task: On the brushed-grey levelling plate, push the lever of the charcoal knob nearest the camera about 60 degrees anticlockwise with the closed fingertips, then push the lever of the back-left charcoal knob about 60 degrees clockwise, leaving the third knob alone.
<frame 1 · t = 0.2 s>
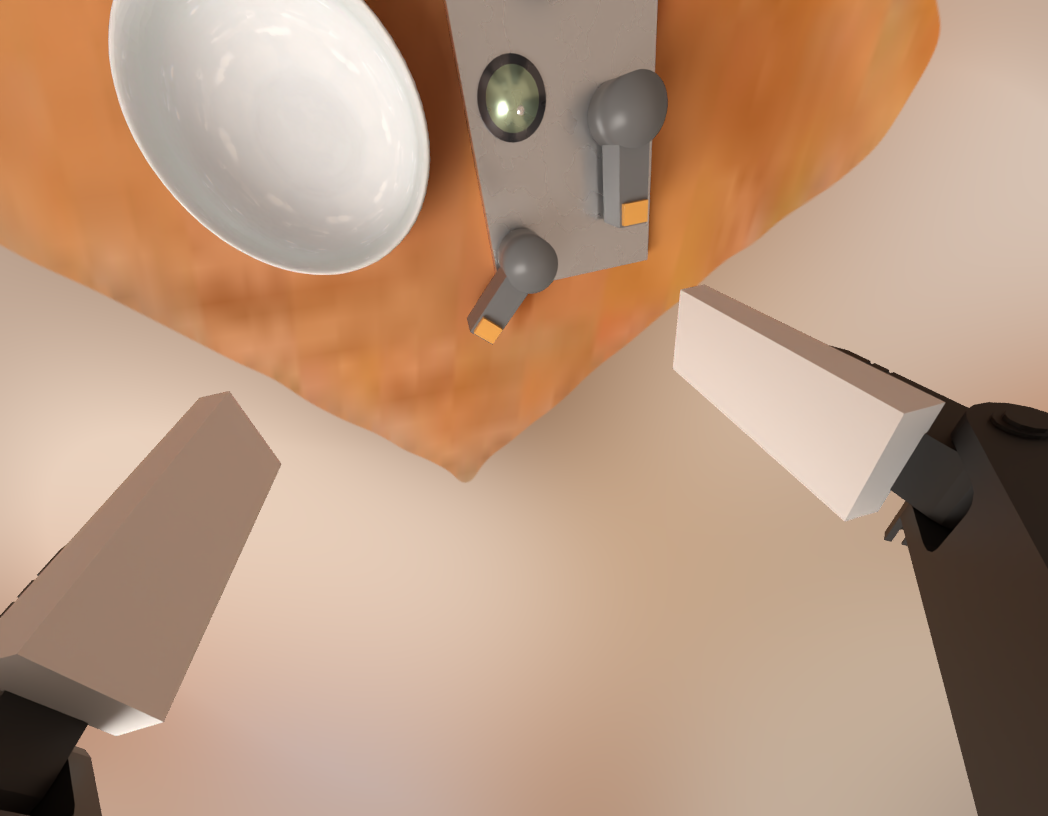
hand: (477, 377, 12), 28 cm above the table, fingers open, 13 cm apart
knob c: (624, 155, 30), point 4 cm above the table, hinge at 0.0°
level plate: (556, 93, 30), on the table
knob b: (509, 286, 34), point 4 cm above the table, hinge at 0.0°
cereal bowl: (315, 136, 29), on the table
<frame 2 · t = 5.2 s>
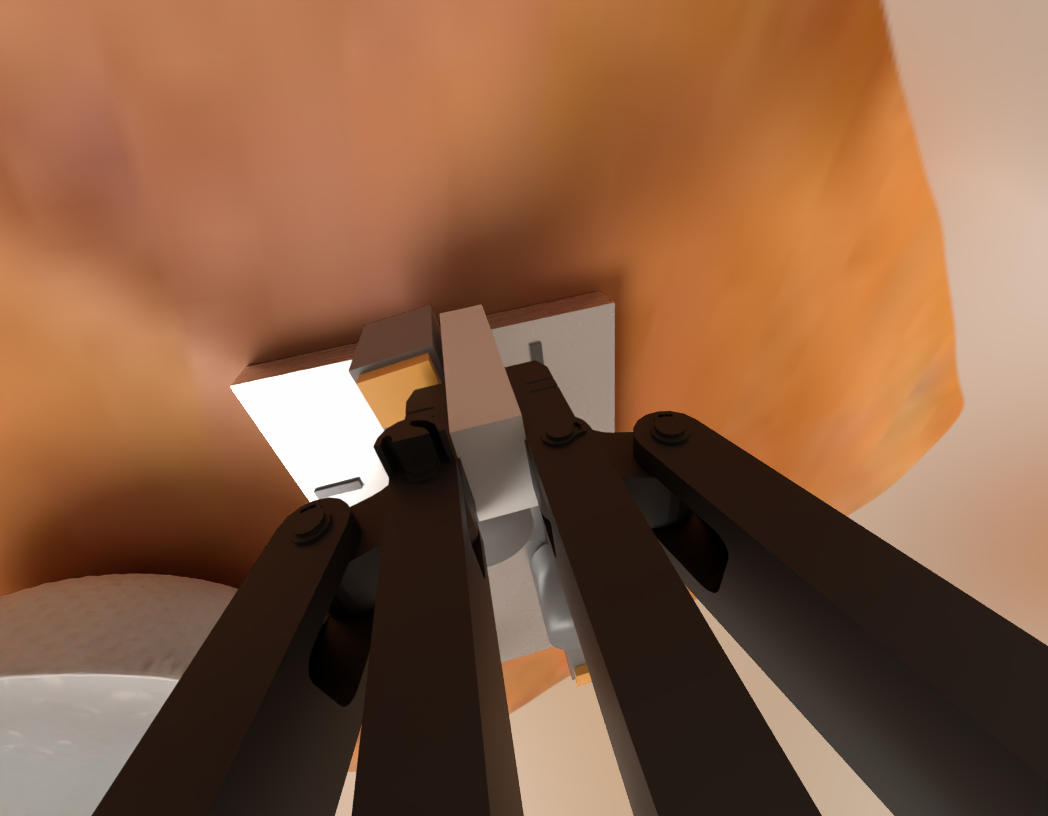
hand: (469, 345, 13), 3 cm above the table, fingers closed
knob c: (577, 613, 24), point 4 cm above the table, hinge at 0.0°
level plate: (492, 532, 24), on the table
knob a: (449, 446, 15), point 4 cm above the table, hinge at 6.0°, touching gripper
cereal bowl: (177, 613, 22), on the table
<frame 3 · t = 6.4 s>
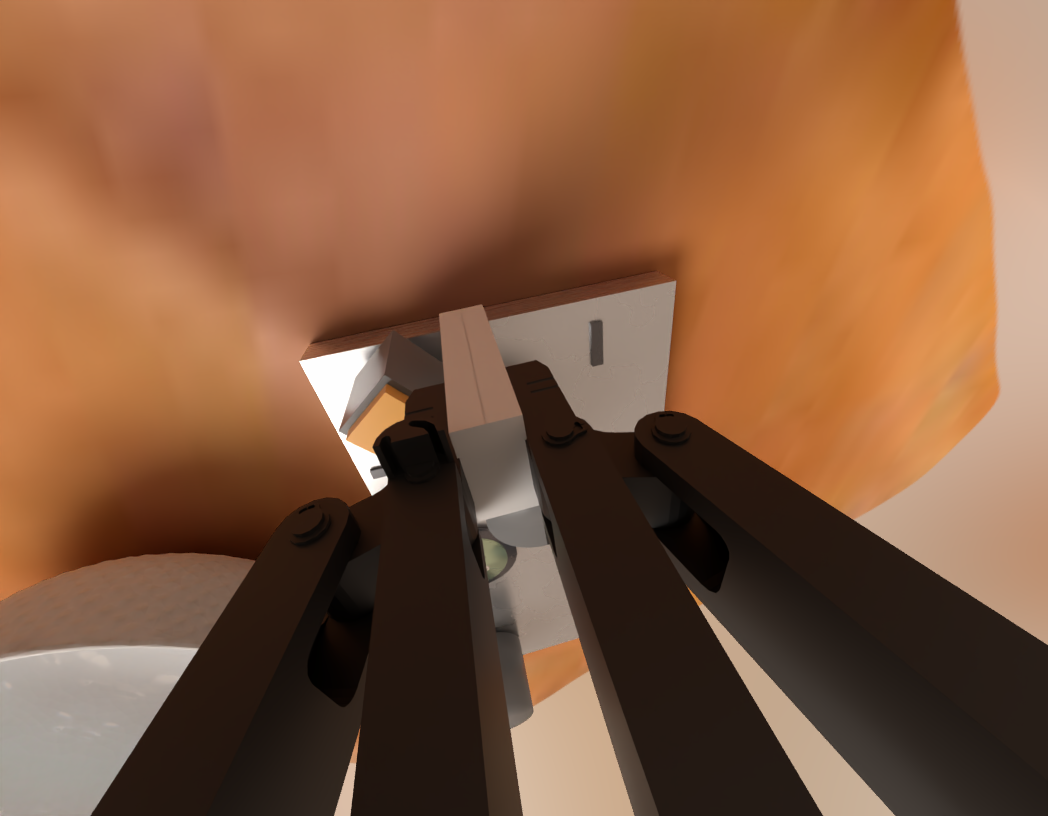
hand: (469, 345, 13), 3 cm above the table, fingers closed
level plate: (532, 518, 24), on the table
knob b: (474, 699, 28), point 4 cm above the table, hinge at 0.0°
knob a: (482, 442, 15), point 4 cm above the table, hinge at 38.4°, touching gripper
cereal bowl: (220, 597, 23), on the table
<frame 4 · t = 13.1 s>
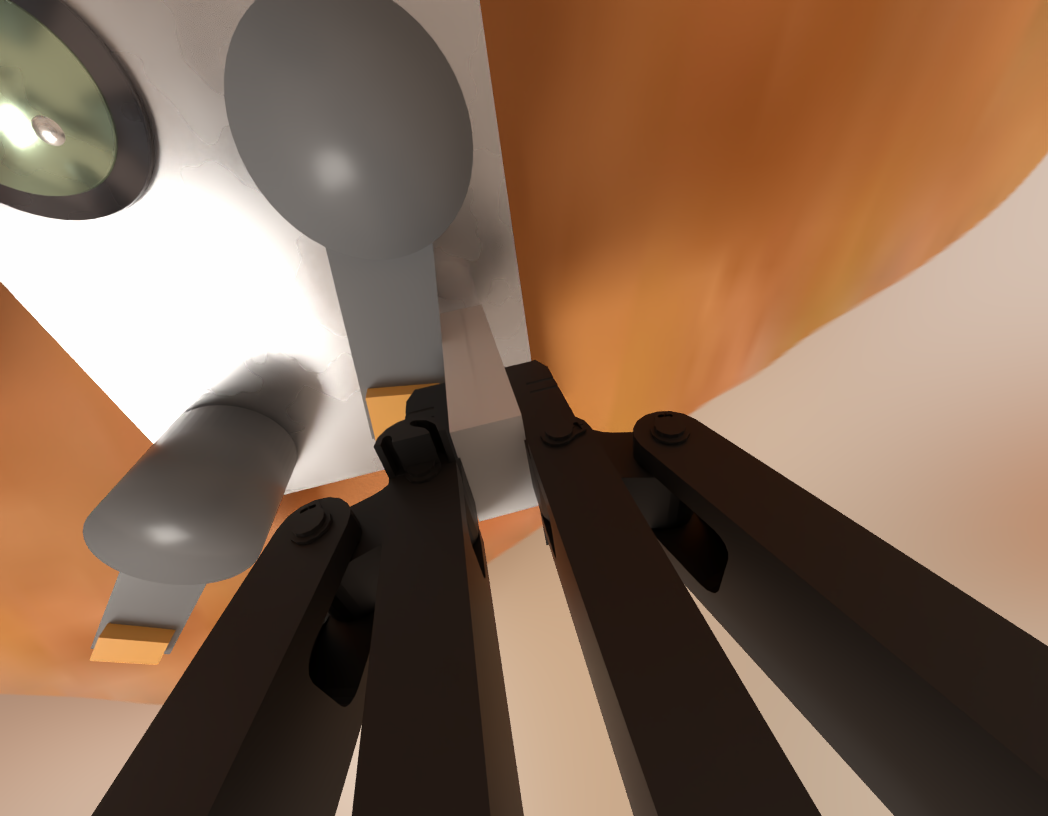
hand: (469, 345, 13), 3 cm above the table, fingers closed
knob c: (390, 259, 11), point 4 cm above the table, hinge at -10.0°, touching gripper
level plate: (219, 83, 11), on the table
knob b: (189, 537, 14), point 4 cm above the table, hinge at 0.0°
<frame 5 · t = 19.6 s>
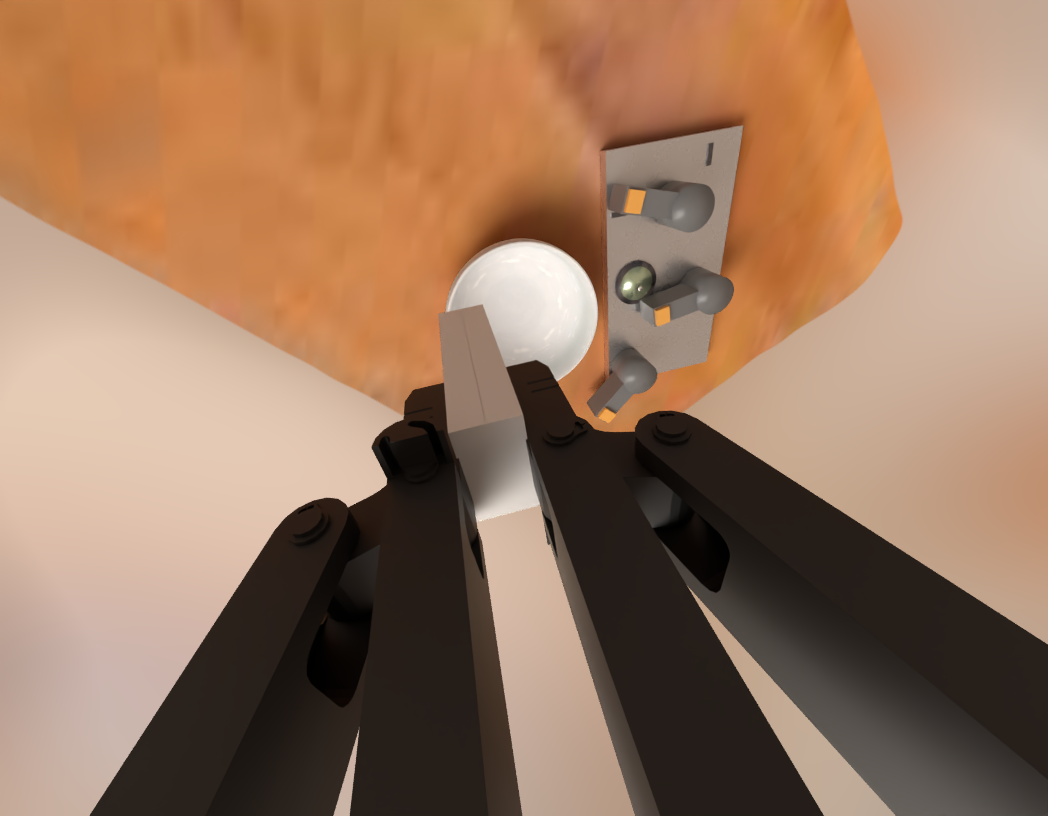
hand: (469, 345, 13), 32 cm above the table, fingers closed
knob c: (684, 298, 46), point 4 cm above the table, hinge at -81.2°
level plate: (659, 272, 48), on the table
knob b: (620, 386, 52), point 4 cm above the table, hinge at 0.0°
knob a: (660, 203, 40), point 4 cm above the table, hinge at 75.0°
cereal bowl: (512, 303, 47), on the table
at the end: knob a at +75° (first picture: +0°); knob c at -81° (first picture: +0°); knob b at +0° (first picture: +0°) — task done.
